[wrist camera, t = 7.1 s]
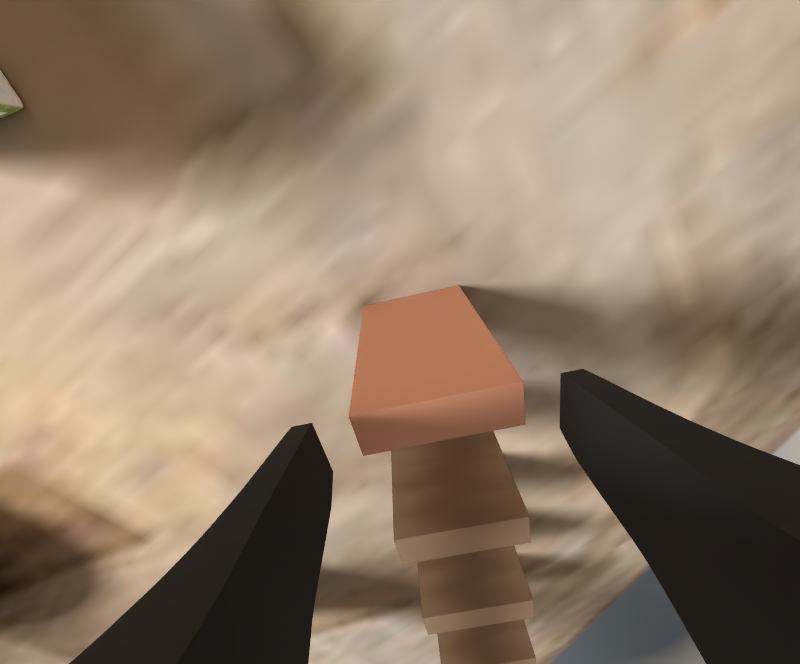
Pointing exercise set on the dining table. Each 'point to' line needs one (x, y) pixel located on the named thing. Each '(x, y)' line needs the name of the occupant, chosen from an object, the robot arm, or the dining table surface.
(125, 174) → the dining table surface
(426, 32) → the dining table surface
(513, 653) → the domino
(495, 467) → the domino
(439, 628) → the wooden block
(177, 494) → the dining table surface
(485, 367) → the terracotta domino
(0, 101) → the syrup box
